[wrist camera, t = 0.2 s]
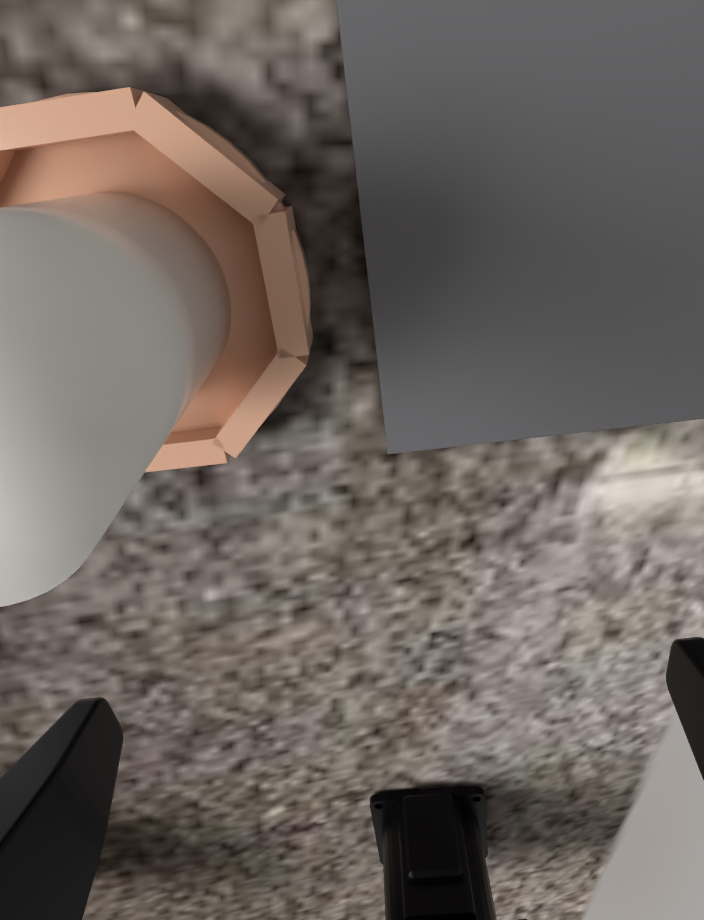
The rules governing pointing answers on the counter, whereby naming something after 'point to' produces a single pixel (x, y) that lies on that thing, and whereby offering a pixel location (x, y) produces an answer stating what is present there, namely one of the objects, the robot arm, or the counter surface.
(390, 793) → the robot arm
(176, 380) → the white smooth rounded cylinder
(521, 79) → the dark grey flat plate
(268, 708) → the counter surface
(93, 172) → the dish
